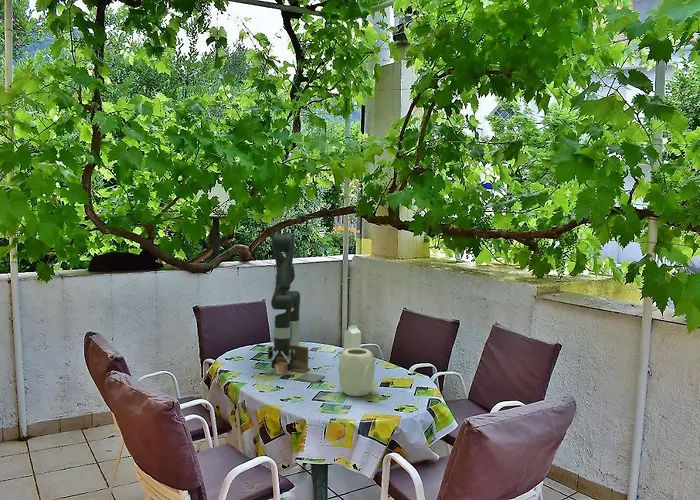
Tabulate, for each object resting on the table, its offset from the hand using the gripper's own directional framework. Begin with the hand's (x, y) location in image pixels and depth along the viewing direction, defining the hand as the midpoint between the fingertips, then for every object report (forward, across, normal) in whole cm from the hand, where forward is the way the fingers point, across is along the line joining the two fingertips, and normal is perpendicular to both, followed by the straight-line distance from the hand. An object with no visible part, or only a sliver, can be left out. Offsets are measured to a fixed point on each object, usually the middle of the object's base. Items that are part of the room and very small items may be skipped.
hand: (281, 369), depth 285 cm
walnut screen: (+2, 0, -9) cm, 10 cm away
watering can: (+3, -44, +8) cm, 45 cm away
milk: (+2, -26, -24) cm, 36 cm away
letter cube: (+2, 0, 0) cm, 2 cm away
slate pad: (+2, -16, 0) cm, 16 cm away
